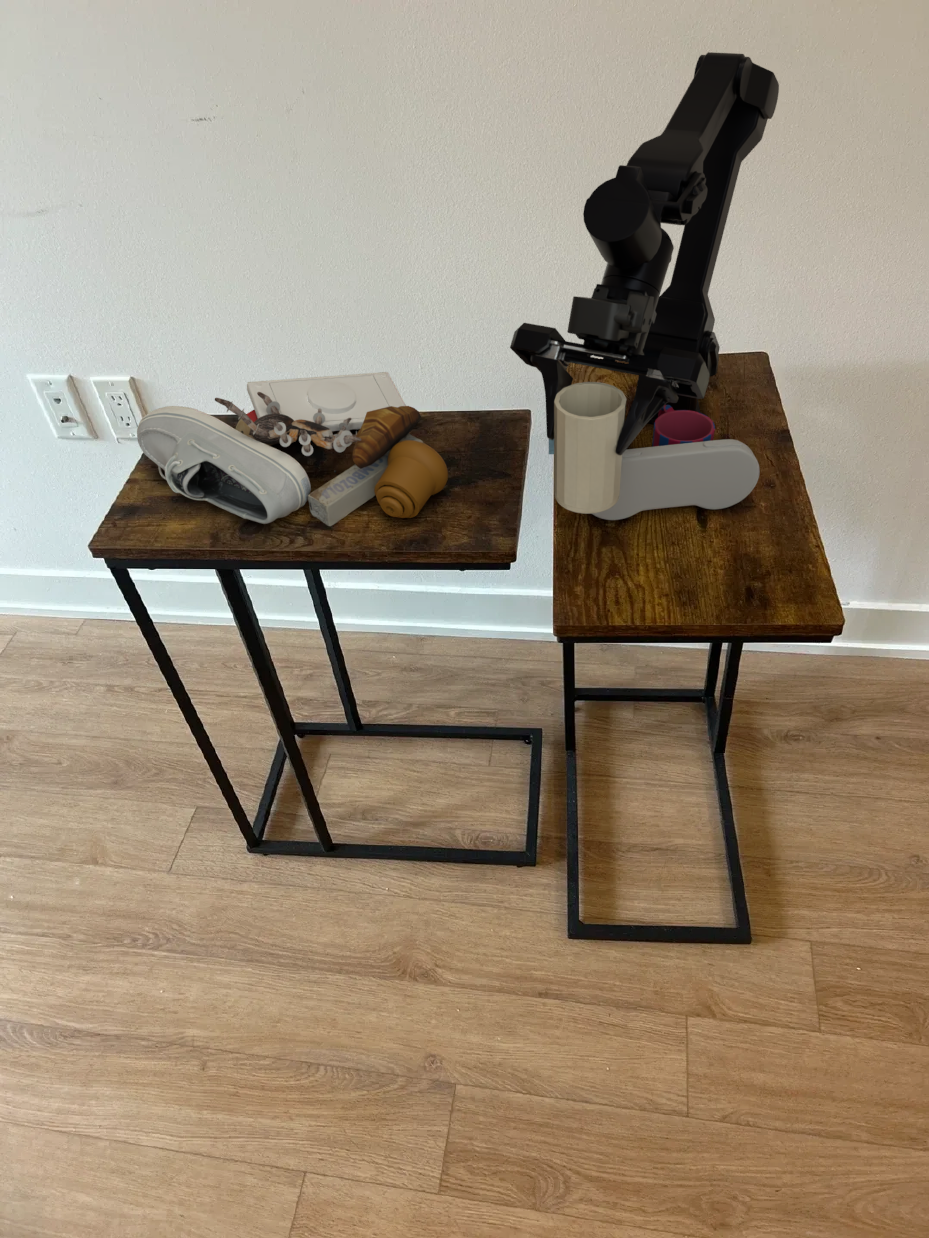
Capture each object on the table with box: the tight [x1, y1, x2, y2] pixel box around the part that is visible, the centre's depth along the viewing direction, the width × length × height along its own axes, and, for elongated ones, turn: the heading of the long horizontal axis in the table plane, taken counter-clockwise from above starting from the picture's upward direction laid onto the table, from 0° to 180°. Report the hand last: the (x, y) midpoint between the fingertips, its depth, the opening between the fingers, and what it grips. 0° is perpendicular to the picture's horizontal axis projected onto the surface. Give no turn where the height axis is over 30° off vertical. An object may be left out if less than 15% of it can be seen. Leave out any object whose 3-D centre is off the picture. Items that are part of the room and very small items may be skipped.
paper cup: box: [553, 381, 628, 515], centre depth 87 cm, size 7×7×11 cm
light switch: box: [246, 371, 407, 432], centre depth 115 cm, size 11×2×19 cm
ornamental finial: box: [374, 440, 449, 519], centre depth 101 cm, size 8×8×8 cm
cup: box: [651, 405, 716, 447], centre depth 103 cm, size 7×10×7 cm
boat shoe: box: [136, 405, 312, 525], centre depth 104 cm, size 25×9×8 cm
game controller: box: [591, 438, 761, 521], centre depth 97 cm, size 20×2×8 cm, turn 95°
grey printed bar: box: [307, 432, 424, 527], centre depth 105 cm, size 4×16×5 cm
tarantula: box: [214, 392, 361, 457], centre depth 105 cm, size 16×17×5 cm
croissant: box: [352, 405, 422, 469], centre depth 103 cm, size 14×7×5 cm
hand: (583, 446), depth 86 cm, fingers closed on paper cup, 7 cm apart
